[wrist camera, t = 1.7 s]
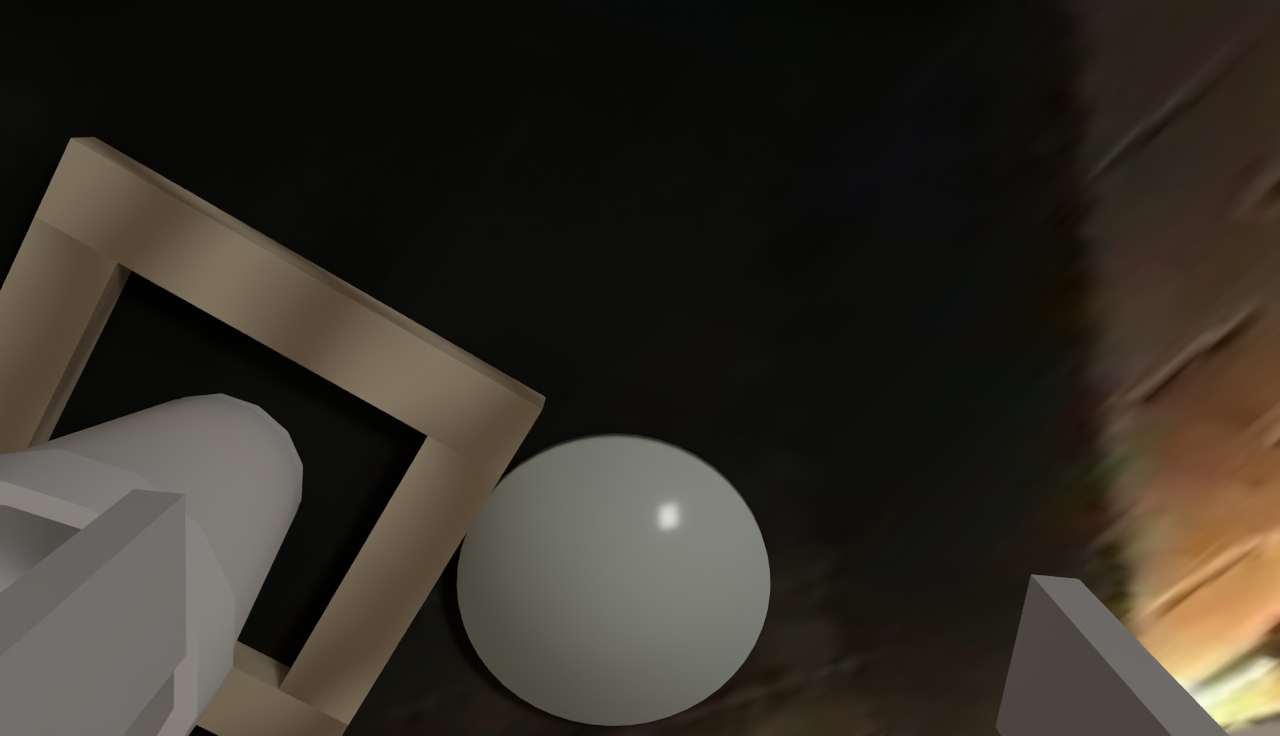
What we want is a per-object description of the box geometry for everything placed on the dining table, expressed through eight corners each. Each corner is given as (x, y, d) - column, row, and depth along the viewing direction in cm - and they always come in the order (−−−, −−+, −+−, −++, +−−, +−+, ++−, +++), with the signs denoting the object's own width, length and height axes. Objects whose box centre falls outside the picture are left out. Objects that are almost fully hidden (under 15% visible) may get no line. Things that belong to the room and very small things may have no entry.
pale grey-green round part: (405, 625, 39) (401, 636, 38) (559, 375, 36) (557, 380, 35) (663, 761, 40) (663, 774, 40) (826, 530, 38) (831, 539, 37)
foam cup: (395, 477, 37) (278, 663, 25) (237, 631, 39) (49, 881, 26) (200, 300, 35) (-35, 403, 23) (42, 469, 37) (-262, 654, 24)
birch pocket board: (-98, 548, 38) (-127, 565, 36) (94, 137, 34) (70, 138, 32) (324, 758, 40) (313, 782, 39) (545, 397, 36) (542, 409, 35)
